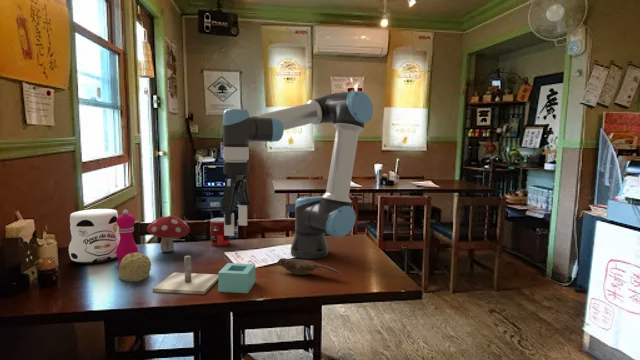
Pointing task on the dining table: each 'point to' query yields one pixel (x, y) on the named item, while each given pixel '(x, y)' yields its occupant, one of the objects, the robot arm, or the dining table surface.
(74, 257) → the dulce de leche jar
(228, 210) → the robot arm
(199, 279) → the rod stand
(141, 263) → the rock
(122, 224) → the pepper mill
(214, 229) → the canned food
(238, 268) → the teal hollow square block
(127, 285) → the dining table surface
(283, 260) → the bird sculpture
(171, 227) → the decorative mushroom
